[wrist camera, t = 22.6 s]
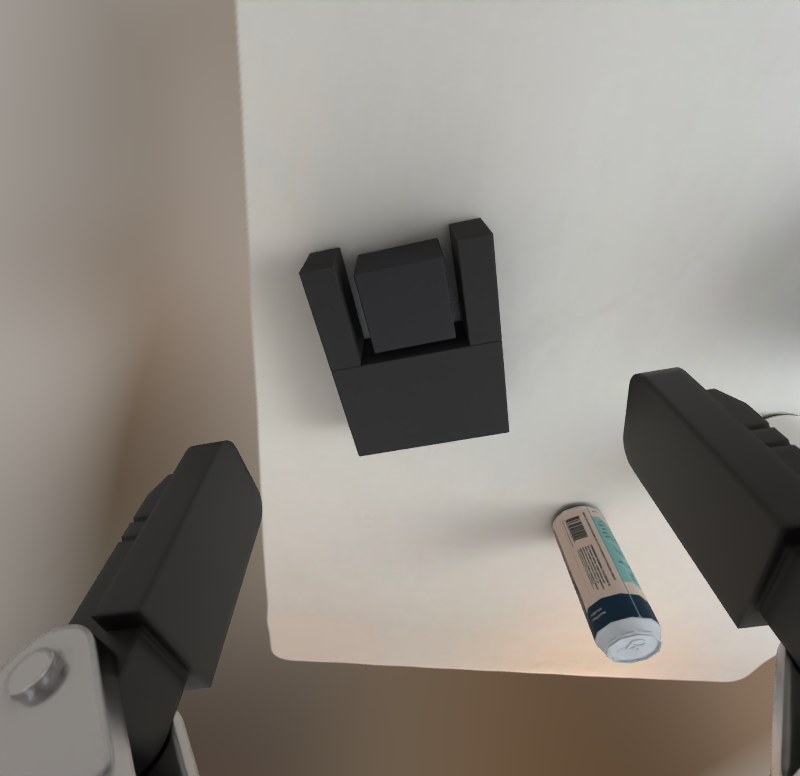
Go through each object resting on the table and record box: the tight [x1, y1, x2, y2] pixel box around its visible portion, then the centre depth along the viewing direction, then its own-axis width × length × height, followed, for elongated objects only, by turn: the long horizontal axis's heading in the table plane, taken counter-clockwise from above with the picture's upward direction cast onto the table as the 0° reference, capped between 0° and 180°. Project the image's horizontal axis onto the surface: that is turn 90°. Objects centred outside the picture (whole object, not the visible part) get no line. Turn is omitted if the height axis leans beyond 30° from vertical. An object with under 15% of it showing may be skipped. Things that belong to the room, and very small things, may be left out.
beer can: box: [552, 506, 662, 663], centre depth 37 cm, size 5×5×12 cm
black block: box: [354, 239, 456, 353], centre depth 28 cm, size 5×5×4 cm
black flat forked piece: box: [299, 218, 509, 456], centre depth 30 cm, size 14×11×4 cm
